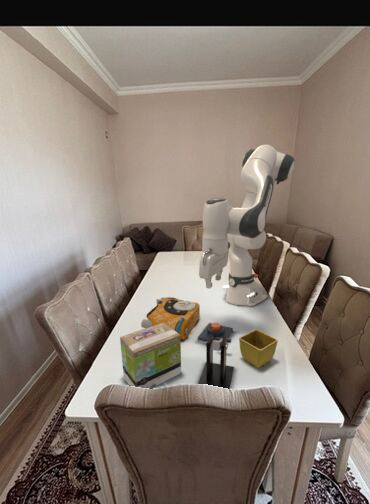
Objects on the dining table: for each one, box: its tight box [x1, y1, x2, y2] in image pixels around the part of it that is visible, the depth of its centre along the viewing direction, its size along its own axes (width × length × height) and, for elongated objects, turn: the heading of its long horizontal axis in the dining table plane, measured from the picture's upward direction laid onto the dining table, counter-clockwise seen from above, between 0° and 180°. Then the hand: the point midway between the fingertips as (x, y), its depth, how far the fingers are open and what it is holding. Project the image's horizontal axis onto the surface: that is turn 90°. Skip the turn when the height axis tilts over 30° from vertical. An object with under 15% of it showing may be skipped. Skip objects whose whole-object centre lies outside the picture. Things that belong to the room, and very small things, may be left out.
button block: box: [197, 322, 234, 343], centre depth 96 cm, size 12×10×4 cm
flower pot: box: [238, 328, 279, 369], centre depth 80 cm, size 9×9×9 cm
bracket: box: [197, 335, 235, 390], centre depth 73 cm, size 12×9×14 cm
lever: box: [212, 337, 232, 352], centre depth 77 cm, size 15×5×2 cm, turn 162°
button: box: [211, 322, 222, 331], centre depth 96 cm, size 4×4×2 cm
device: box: [140, 296, 201, 341], centre depth 108 cm, size 23×8×30 cm
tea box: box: [119, 322, 182, 389], centre depth 74 cm, size 15×10×15 cm
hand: (213, 283), depth 91 cm, fingers open, 8 cm apart
